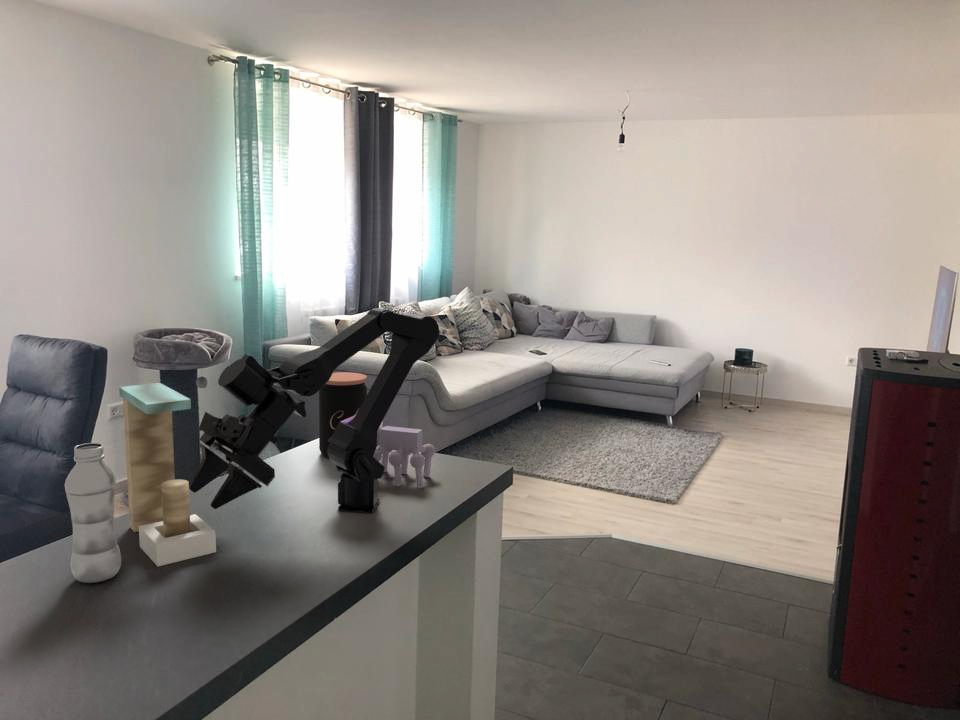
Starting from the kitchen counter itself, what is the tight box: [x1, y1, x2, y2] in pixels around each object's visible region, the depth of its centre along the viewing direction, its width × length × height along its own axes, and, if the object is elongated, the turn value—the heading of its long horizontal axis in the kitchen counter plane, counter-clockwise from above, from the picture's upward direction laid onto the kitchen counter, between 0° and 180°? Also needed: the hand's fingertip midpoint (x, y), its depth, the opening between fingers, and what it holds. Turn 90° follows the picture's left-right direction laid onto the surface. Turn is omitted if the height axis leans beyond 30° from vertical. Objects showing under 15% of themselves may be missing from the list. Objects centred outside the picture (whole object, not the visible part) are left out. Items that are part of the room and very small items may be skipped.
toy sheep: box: [341, 415, 436, 489], centre depth 161 cm, size 20×11×14 cm, turn 75°
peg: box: [161, 478, 191, 538], centre depth 123 cm, size 4×4×11 cm
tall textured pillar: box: [118, 382, 192, 533], centre depth 127 cm, size 8×15×24 cm, turn 39°
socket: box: [138, 513, 217, 567], centre depth 124 cm, size 9×9×4 cm
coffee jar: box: [318, 371, 368, 459], centre depth 176 cm, size 11×11×18 cm
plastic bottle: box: [64, 442, 123, 584], centre depth 112 cm, size 6×7×20 cm
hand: (202, 499), depth 126 cm, fingers open, 9 cm apart
